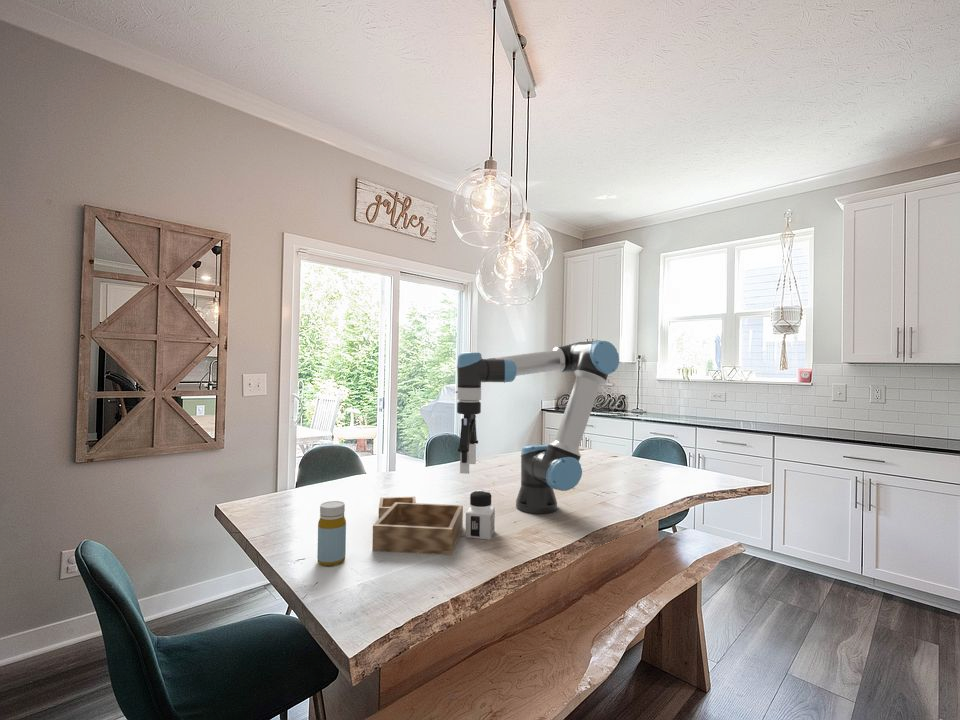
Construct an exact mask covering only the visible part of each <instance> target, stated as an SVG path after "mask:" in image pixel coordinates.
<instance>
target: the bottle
mask: <svg viewBox="0 0 960 720" xmlns="http://www.w3.org/2000/svg"><path fill="white" fill-rule="evenodd" d="M345 506H346V504H345V502H343V501H339V500H331V501H325V502H322V503H321V504H320V505H319V508H320V509H319V520H318V523H317V554H316V555H317V556H316V557H317V563H318V564H319V565H320V566H323V567H334V566H339V565H340V564H342V563H343V562H344V561H345V559H346V552H347V551H346V547H347V546H346V545H347V544H346V542H347V539H346V538H347V520H346V517H345Z"/></svg>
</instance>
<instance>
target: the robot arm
mask: <svg viewBox="0 0 960 720" xmlns="http://www.w3.org/2000/svg"><path fill="white" fill-rule="evenodd" d="M619 364H620V354H619V352H618V350H617V348H616V347H615V345H614V344H613V343H611V342H610V341H607V340H599V339H598V340H593V341H591V340H590V341H579V342H574V343H571V344H566V345H561V346H555V347H554V348H552V350H546V351H539V352H538V351H537V352H529V353H522V354H514V355H507V356H499V357H497V356H496V357H492V358H491V357H490V358H482V353H480V352H470V351H469V352H466V351H465V352H464V351H463V352H460V353H459V354H458V356H457V366H456V368H457V371H456V372H457V384H456V385H457V390H455V394H456V395H457V397H456V398H457V399H456V400H457V403H456V412H457V414H459V415H463V417H462V418H461V420H460V422H461V423H460V424H461V425H460V435H459V446H458V448H457V452H459V453H460V454H459V474H464V475H465V474H468V475H469V474H470V465H476V462H477V461H476V460H477V459H476V458H477V454H476V453H477V444H479V440H478V438H477V437H478V436H477V420H476V417H477V416H476V415H479V414H481V412H482V410H481V409H482V403H481V400H482V383H504V384H505V383H511V382H513V381H515V379H516V377H517V376H524V375H532V374H539V373H546V372H552V371H555V372H556V373H565V372H566V373H568V372H569V373H574V375H575V380H574V383H573V385H572V390H571V392H570V395H569V398H568V401H567V404H566V407H565V410H564V412H563V415H562V418H561V420H560V424H559V426H558V429H557V433H556V434H555V435H556V436H555V438H554V440H553V441H552V442H550V443H548V444H530V445H528V444H527V445H524V446H522V448H521V452H520V458H521V460H520V487H519V491H518V494H517V496H516V500H515V507H516V508H517V510H519V511H521V512H523V513H524V512H525V513H529V514H550V513H553V512H556V511H557V510H558V501H557V498H556V495H555V491H554V490H557V491H562V492H566V491H570V490H572V489H574V488H575V487H576V486H577V485H578V484H579V482H580V480H581V479H582V475H583V468H582V464H581V463H580V460H581V457H582V455H581V453H580V451H579V449H580V446H581V443H582V440H583V437H584V434H585V431H586V428H587V425H588V422H589V419H590V415H591V414H592V410H593V407H594V404H595V402H596V401H595V400H596V399H597V395H598V392H599V389H600V387H601V385H603V384H605V383H606V382H607V379H608V376H609V375H610V374H612V373H613V372H616V370H617V369H618V367H619Z"/></svg>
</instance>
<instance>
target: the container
mask: <svg viewBox="0 0 960 720" xmlns="http://www.w3.org/2000/svg"><path fill="white" fill-rule="evenodd" d="M495 508H496V507H495V506H492V493H491V492H489V491H485V490H474V491H473V492H471V493H470V496H469V508H468V510H466V512H465V538H468V539H479V540H480V539H481V540H491V539H492V536H493V535H494V532H495V527H496V525H495V523H496V522H495V519H496V516H495V515H496V510H495Z"/></svg>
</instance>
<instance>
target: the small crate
mask: <svg viewBox="0 0 960 720" xmlns="http://www.w3.org/2000/svg"><path fill="white" fill-rule="evenodd" d="M395 502H400V503H417V501H416V496H401V497H400V496H391V497H389V496H388V497H380V498H379V506H378V520H379V519H380V518H381V517H382V515H383V514H384V513H385V512H386V511H387V510H388V509H389V508H390V507H391V506H392V505H393V504H394V503H395ZM378 520H377V521H378ZM397 522H401V507H397Z"/></svg>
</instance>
